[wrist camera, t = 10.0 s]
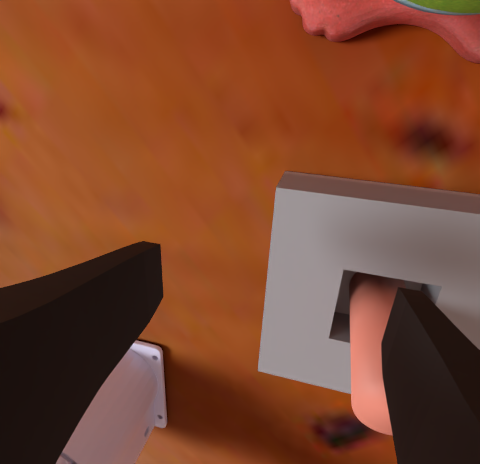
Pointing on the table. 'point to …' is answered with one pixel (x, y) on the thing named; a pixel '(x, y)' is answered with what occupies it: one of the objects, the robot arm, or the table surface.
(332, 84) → the table surface
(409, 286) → the socket block
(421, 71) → the table surface
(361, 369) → the peg
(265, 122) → the table surface
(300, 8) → the stacking bear
